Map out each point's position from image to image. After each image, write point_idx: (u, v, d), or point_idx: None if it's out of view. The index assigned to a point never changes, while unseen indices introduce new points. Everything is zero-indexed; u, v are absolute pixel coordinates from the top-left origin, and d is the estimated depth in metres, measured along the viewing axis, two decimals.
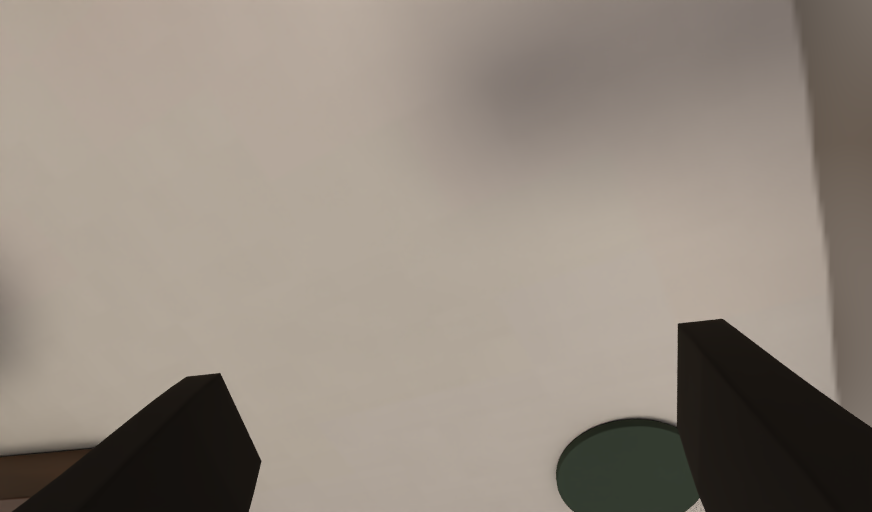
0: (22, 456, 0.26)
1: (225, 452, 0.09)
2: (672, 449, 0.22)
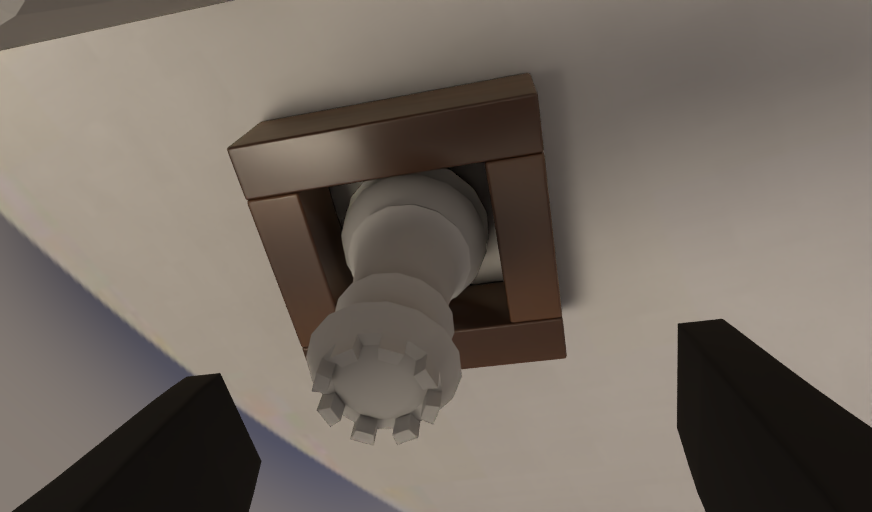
0: (391, 98, 0.16)
1: (225, 452, 0.09)
2: None
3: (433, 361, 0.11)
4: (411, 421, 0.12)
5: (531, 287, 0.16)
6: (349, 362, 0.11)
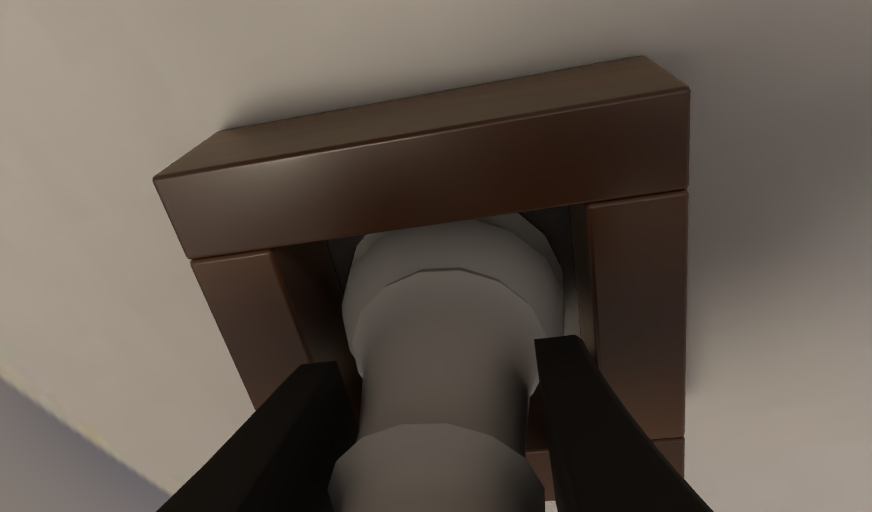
0: (420, 96, 0.10)
1: (344, 442, 0.09)
2: None
3: None
4: None
5: (642, 395, 0.10)
6: None
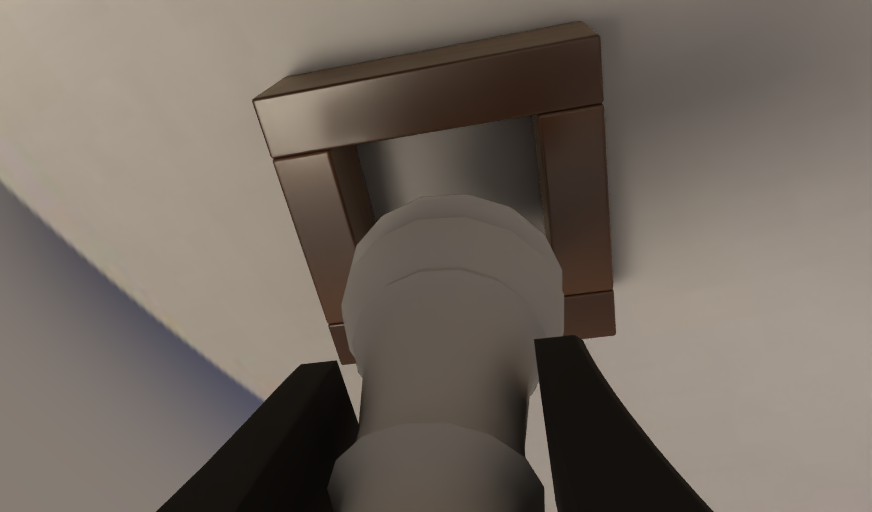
0: (428, 50, 0.15)
1: (344, 442, 0.09)
2: None
3: None
4: None
5: (581, 256, 0.15)
6: None
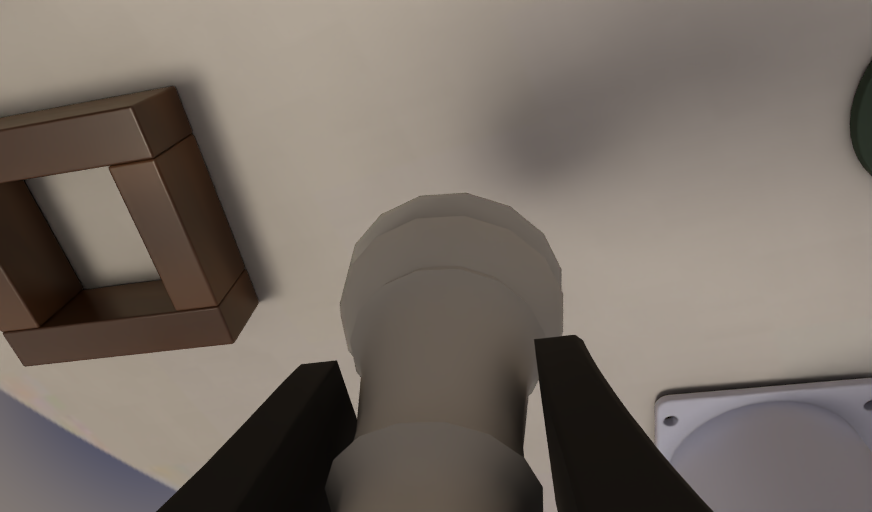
0: (58, 107, 0.18)
1: (344, 442, 0.09)
2: None
3: None
4: None
5: (182, 278, 0.18)
6: None
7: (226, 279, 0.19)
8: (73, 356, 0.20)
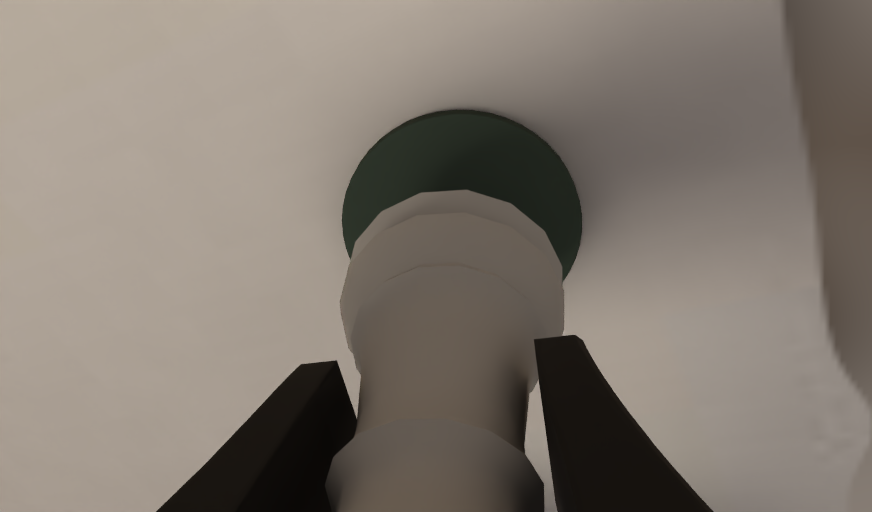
0: None
1: (344, 442, 0.09)
2: (516, 162, 0.13)
3: None
4: None
5: None
6: None
7: None
8: None
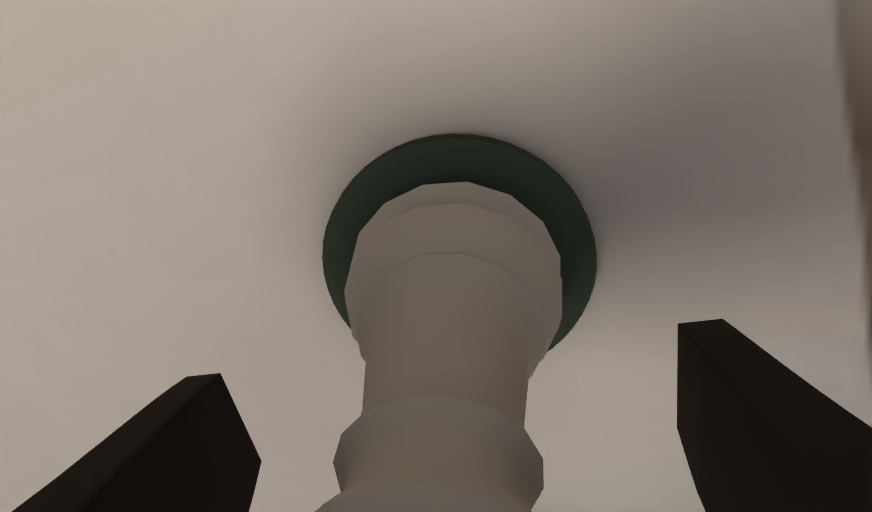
0: None
1: (225, 452, 0.09)
2: (521, 195, 0.12)
3: None
4: None
5: None
6: None
7: None
8: None
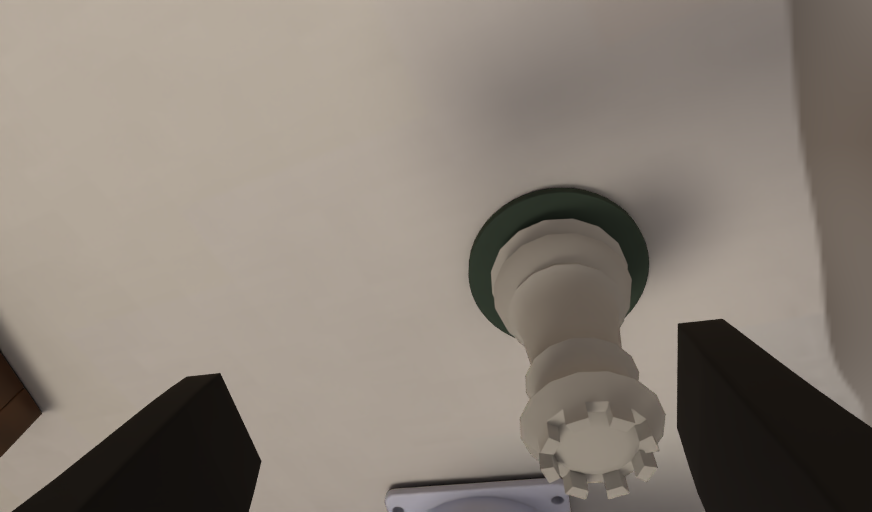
0: None
1: (225, 452, 0.09)
2: (603, 226, 0.18)
3: (650, 426, 0.12)
4: (621, 478, 0.13)
5: None
6: (581, 429, 0.12)
7: None
8: None
